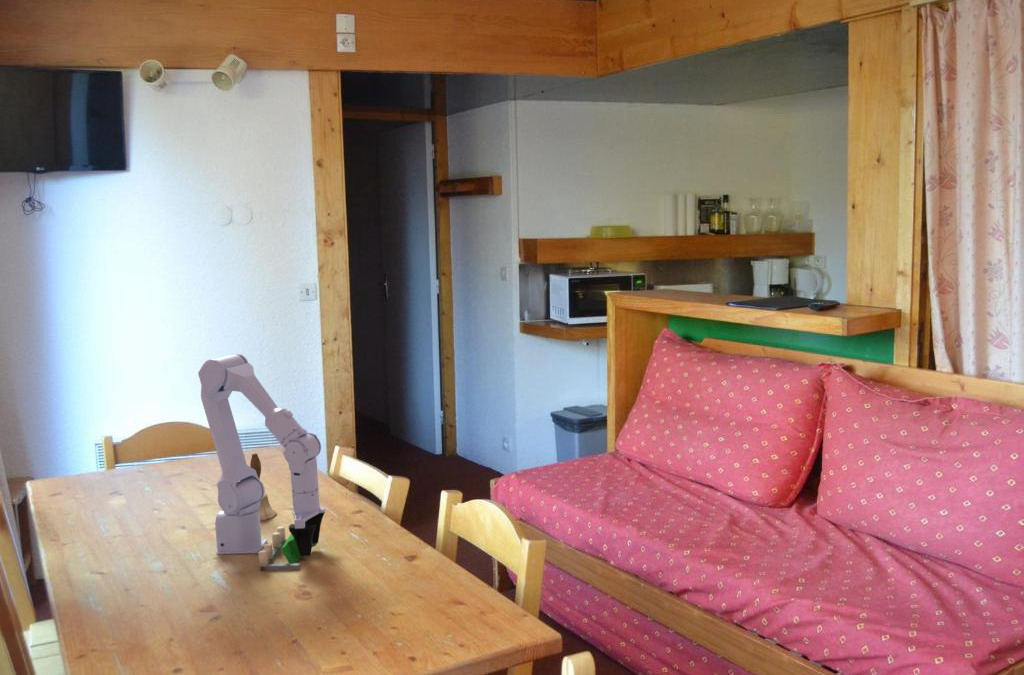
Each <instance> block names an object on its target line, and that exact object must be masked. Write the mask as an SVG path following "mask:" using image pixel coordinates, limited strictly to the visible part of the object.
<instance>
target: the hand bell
mask: <svg viewBox="0 0 1024 675" xmlns="http://www.w3.org/2000/svg"><path fill="white" fill-rule="evenodd" d="M249 467H251V468H253V469H254V470H256V473H257V476H258V478H259V479H260V480H261V474H262V462H261V460H260V457H259V455H258V453H256V452H255V453H251V458H250V465H249ZM259 515H260V522H261V521H266V520H269V519H272V518H274V517H276V516H277V515H278V514H277V511H276V509H274V508H273V507H272V506H271V504H270V500H269V497H268V494H267V493H265V494H264V497H263V499H262V500H261V501H260V506H259Z"/></svg>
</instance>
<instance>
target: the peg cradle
mask: <svg viewBox="0 0 1024 675" xmlns="http://www.w3.org/2000/svg"><path fill="white" fill-rule="evenodd" d="M271 537H272V538H271V539H272V543H269V542H268V543H265V544H264V546H263V550H262V549H261V550H260V551H259V552H258V564H259V567H260V568H259V569H260V572H266V571H267V572H268V571H269V572H270V571H271V572H273V570H275V571H298V570H297V569H299V570H301V563H300V562H297V563H290V564H289V563H273V562H274V560H275V559H276V558H277V556H278V555H279V553H280V551H282V550H281V548H282V546H283V545H284V543H285V542H286V541H287V539H288V538H287V539H286V527H285V526H282V525H281V526H277V527H276V532H273V533H271ZM277 554H278V555H277Z"/></svg>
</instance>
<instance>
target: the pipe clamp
mask: <svg viewBox="0 0 1024 675" xmlns="http://www.w3.org/2000/svg"><path fill="white" fill-rule="evenodd" d="M313 547H315V544H313V543H312V548H313ZM280 551H281V552H282V553H283V555H284V558H286V560H287V562H288V564H290V563H298V561H299V560H300V559H302V558H303V557H305V556H300V553H299V550H298V547H297V544H296V541H295V539H294V537H293V535H292V534H291V533H290V535H289V536H288V538H287V541H286V542H285V543H284V545H283V546H282V548H281V550H280Z"/></svg>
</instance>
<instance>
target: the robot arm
mask: <svg viewBox="0 0 1024 675" xmlns="http://www.w3.org/2000/svg"><path fill="white" fill-rule="evenodd" d="M254 370H255V369H254V366H253V365H252V364H251V363H250V362H249V361H248V359H247V358H246V356H244V355H243V354H241V353H238V352H237V353H231V354H229V355H226V356H222V357H218V358H215V359H214V358H212V359H207V360H206V361H205V362H204V363H203V364H202V365H201V367H200V370H199V371H198V373H197V374H198V378H199V382H200V399H201V403H202V406H203V409H204V413H205V416H206V420H207V424H208V426H209V431H210V433H211V437H212V441H213V444H214V448H215V451H216V454H217V458H218V461H219V464H220V468H221V471H222V472H221V475H220V477H219V479H218V481H217V482H216V487H217V502H218V506H219V507H220V509H221V510H219V511H218V512H217V514H216V517H215V522H214V524H215V539H216V555H233V554H234V555H235V554H237V555H238V554H240V555H241V554H257V553H258V552H259V551H262V548H264V545H265V544H267V543H268V539H267V538H262V533H261V532H262V531H261V521H260V515H259V506H260V501H261V500H262V499H263V497H264V494H265V492H266V491H265V486H264V483H263V482H262V481H261V478H260V479H259V478H258V476H257V473H256V470H254V469H253V468H251V467H250V465H248V464H247V460H246V457H245V454H244V449H243V446H242V443H241V439H240V436H239V434H238V429H237V426H236V423H235V419H234V414H233V412H232V409H231V405H230V401H229V397H230V396H231V394H232V393H233V392H239V393H241V394H242V395H243V396H244V397H245V398H246V399H247V400H248V402H250V403H251V404H252V405H253V406H254V407H255V408H256V409H257V410H258V411H259V412H260V414H262V416H263V417H264V418H265V420H264V426H265V427H266V428H267V430H268V431H269V432H270V433H271V434H272V435H273V437H274V438H275V440H276V441H277V442H278V443H279V445H280V446H282V449H284V450H283V451H282V455H283V457H284V459H285V461H286V462H287V464H288V469H289V471H290V480H291V481H290V482H291V496H292V515H293V518H294V523H291V524H290V525H289V526H288V530H289V532H290V535H291V534H292V535H293V537H294V539H295V541H296V544H297V547H298V550H299V553H300V556H304V557H310V556H311V554H312V550H313V549H312V548H313V547H312V543H313V544H314V545H315V544H318V543H319V539H320V533H321V532H320V531H321V526H322V521H323V518H324V516H325V513H326V507H325V506H321V505H320V491H319V475H318V474H319V473H318V463H317V462H318V461H317V457H318V456H319V455H320V453H321V449H322V443H321V441H320V439H319V438H318V436H317V434H315V433H314V432H310V431H307V430H306V429H305V428H303V427H302V426H301V424H299V421H297V420H296V419H295V417H293V416H294V414H293V413H292V411H291V410H288V409H287V408H286V407H285V408H283V407H278V406H277V404H276V403H275V402H274V400H273V398H272V397H271V396H270V394H269V393H268V391H267V390H266V388H265V387H264V386H263V385H262V383H261V382H260V381H259V379H258V378H257V376H256V374H255V371H254ZM258 554H259V553H258Z"/></svg>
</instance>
